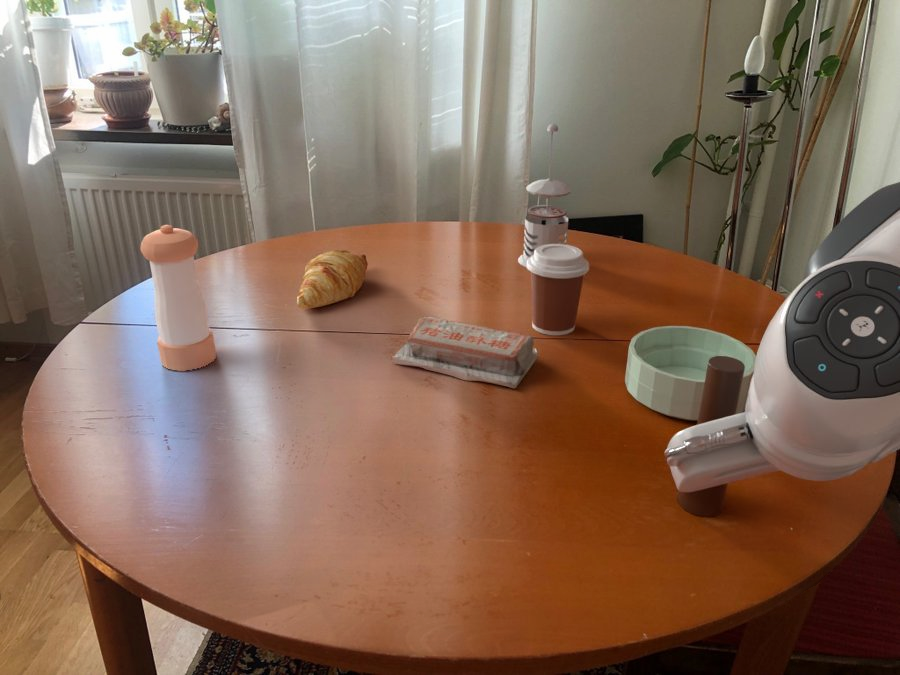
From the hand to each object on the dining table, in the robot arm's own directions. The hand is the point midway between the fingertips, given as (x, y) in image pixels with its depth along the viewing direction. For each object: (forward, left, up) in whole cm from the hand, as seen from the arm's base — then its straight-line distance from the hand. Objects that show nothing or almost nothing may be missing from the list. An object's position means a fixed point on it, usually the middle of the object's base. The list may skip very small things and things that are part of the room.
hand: (792, 454), depth 62 cm
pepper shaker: (+53, -54, -12) cm, 77 cm away
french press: (-9, -80, -12) cm, 81 cm away
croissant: (+31, -74, -12) cm, 81 cm away
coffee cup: (0, -52, -12) cm, 53 cm away
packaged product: (+16, -44, -12) cm, 48 cm away
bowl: (-9, -29, -12) cm, 32 cm away
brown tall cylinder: (+1, -9, -12) cm, 15 cm away
